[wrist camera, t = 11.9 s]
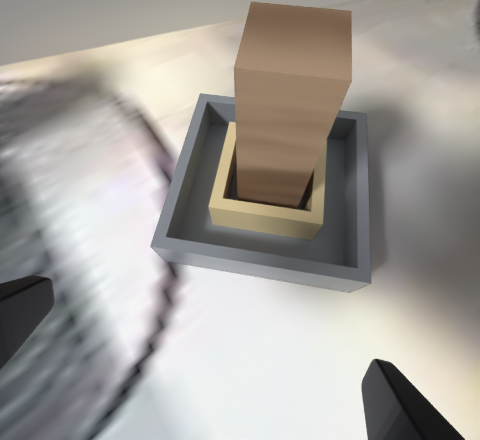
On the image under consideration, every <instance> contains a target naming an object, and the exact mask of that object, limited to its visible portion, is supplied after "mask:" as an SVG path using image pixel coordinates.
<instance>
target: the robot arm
mask: <svg viewBox="0 0 480 440" xmlns="http://www.w3.org/2000/svg"><path fill="white" fill-rule="evenodd" d="M54 302H55V299H54V290H53V282H52V280H51V278H49V277H46V276H42V275H31V276H27V277H23V278H20V279H16V280H12V281H9V282H5V283H1V284H0V370H1V369H2V368H3V366H4V365H5V364H6V363H7V362H8V361H9V360H10V359H11V358H12V357H13V355H14V354H15V353H16V352H17V351H18V350H19V348H20V347H21V346H22V345H23V343H24V342H25V341H26V340H27V339H28V337H29V336H30V335H31V334H32V332H33V331H34V330H35V329H36V328H37V326H38V325H39V324H40V323H41V321H42V320H43V319H44V318H45V317H46V315H47V314H48V313H49V312H50V310H51V309H52V307H53V305H54ZM362 397H363V405H364V413H365V420H366V428H367V436H368V440H465V439H464V438H463V437H462V436H461V435H460V434H459V433H458V431H457V430H456V429H455V428H454V427H453V426H452V425H451V424H450V423H449V422H448V421H447V420H446V419H445V418H444V417H443V416H442V415H441V414H440V413H439V412H438V411H437V410H436V408H435V407H434V406H433V405H432V404H431V403H430V402H429V401H428V400H427V399H426V398H425V397H424V396H423V395H422V394H421V393H420V392H419V391H418V390H417V389H416V388H415V386H414V385H413V384H412V383H411V382H410V381H409V380H408V379H407V378H406V377H405V376H404V375H403V374H402V373H401V372H400V371H399V370H398V369H397V368H396V367H395V366H394V365H393V364H392V363H391V362H388V361H384V360H380V359H374V360H372V362H371V363H370V366H369V368H368V370H367V372H366V374H365V376H364V378H363V380H362Z"/></svg>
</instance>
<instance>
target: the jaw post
mask: <svg viewBox="0 0 480 440" xmlns="http://www.w3.org/2000/svg"><path fill="white" fill-rule="evenodd" d="M351 81H352V35H351V11H347V10H335V9H324V8H313V7H302V6H291V5H279V4H269V3H258V2H251V5H250V9H249V13H248V16H247V20H246V24H245V28H244V32H243V36H242V39H241V43H240V47H239V51H238V55H237V59H236V62H235V66H234V82H235V119H236V156H237V192H238V201H244V202H250V203H257V204H264V205H270V206H277V207H284V208H290V209H297V208H298V205H299V203H300V201H301V198H302V196H303V194H304V191H305V189H306V187H307V184H308V182H309V180H310V177H311V175H312V172H313V170H314V168H315V165H316V163H317V161H318V158H319V156H320V154H321V151H322V149H323V147H324V144H325V142H326V140H327V137H328V135H329V133H330V130H331V128H332V126H333V123H334V121H335V119H336V116H337V114H338V112H339V109H340V107H341V105H342V102H343V100H344V98H345V95H346V93H347V91H348V88H349V86H350V84H351Z"/></svg>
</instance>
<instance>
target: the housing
mask: <svg viewBox="0 0 480 440" xmlns="http://www.w3.org/2000/svg"><path fill="white" fill-rule="evenodd" d="M150 247H151V248H152V249H153V250H154V251H155V252H156V253H157V254H158V255H159V256H160V257H161V258H162V259H163V260H164V261H168V262H174V263H179V264H185V265H191V266H197V267H203V268H209V269H215V270H220V271H226V272H232V273H238V274H244V275H250V276H256V277H261V278H267V279H273V280H279V281H285V282H291V283H297V284H302V285H308V286H314V287H320V288H326V289H332V290H337V291H343V292H349V293H350V292H352V291H355V290H357V289H360V288H362V287H364V286H367V285H369V284H371V256H370V221H369V187H368V152H367V117H366V113H358V112H350V111H341V110H339V112H338V114H337V116H336V119H335V121H334V123H333V126H332V128H331V130H330V133H329V135H328V137H327V140H326V142H325V144H324V147H323V149H322V151H321V154H320V156H319V158H318V161H317V163H316V165H315V168H314V170H313V172H312V175H311V177H310V180H309V182H308V184H307V187H306V189H305V191H304V194H303V196H302V198H301V201H300V203H299V205H298V208H297V209H290V208H284V207H277V206H270V205H264V204H257V203H250V202H244V201H238V192H237V156H236V119H235V98H234V97H226V96H218V95H209V94H201V93H200V95H199V98H198V102H197V105H196V108H195V111H194V114H193V117H192V120H191V123H190V126H189V129H188V132H187V135H186V138H185V141H184V145H183V148H182V151H181V154H180V157H179V160H178V163H177V166H176V169H175V172H174V175H173V178H172V181H171V184H170V188H169V191H168V194H167V197H166V200H165V203H164V206H163V209H162V212H161V215H160V218H159V221H158V224H157V227H156V231H155V234H154V237H153V240H152V243H151V246H150Z"/></svg>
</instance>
